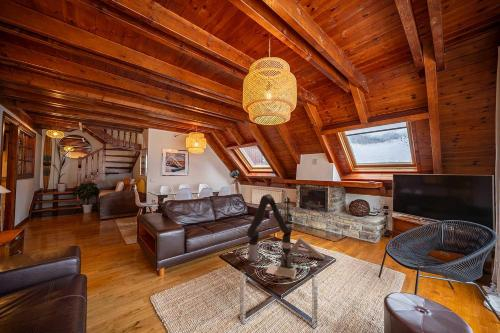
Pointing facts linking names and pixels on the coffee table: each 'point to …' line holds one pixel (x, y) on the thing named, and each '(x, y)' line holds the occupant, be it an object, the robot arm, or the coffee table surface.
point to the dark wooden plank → (289, 263)
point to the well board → (282, 271)
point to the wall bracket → (310, 250)
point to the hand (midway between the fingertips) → (286, 264)
